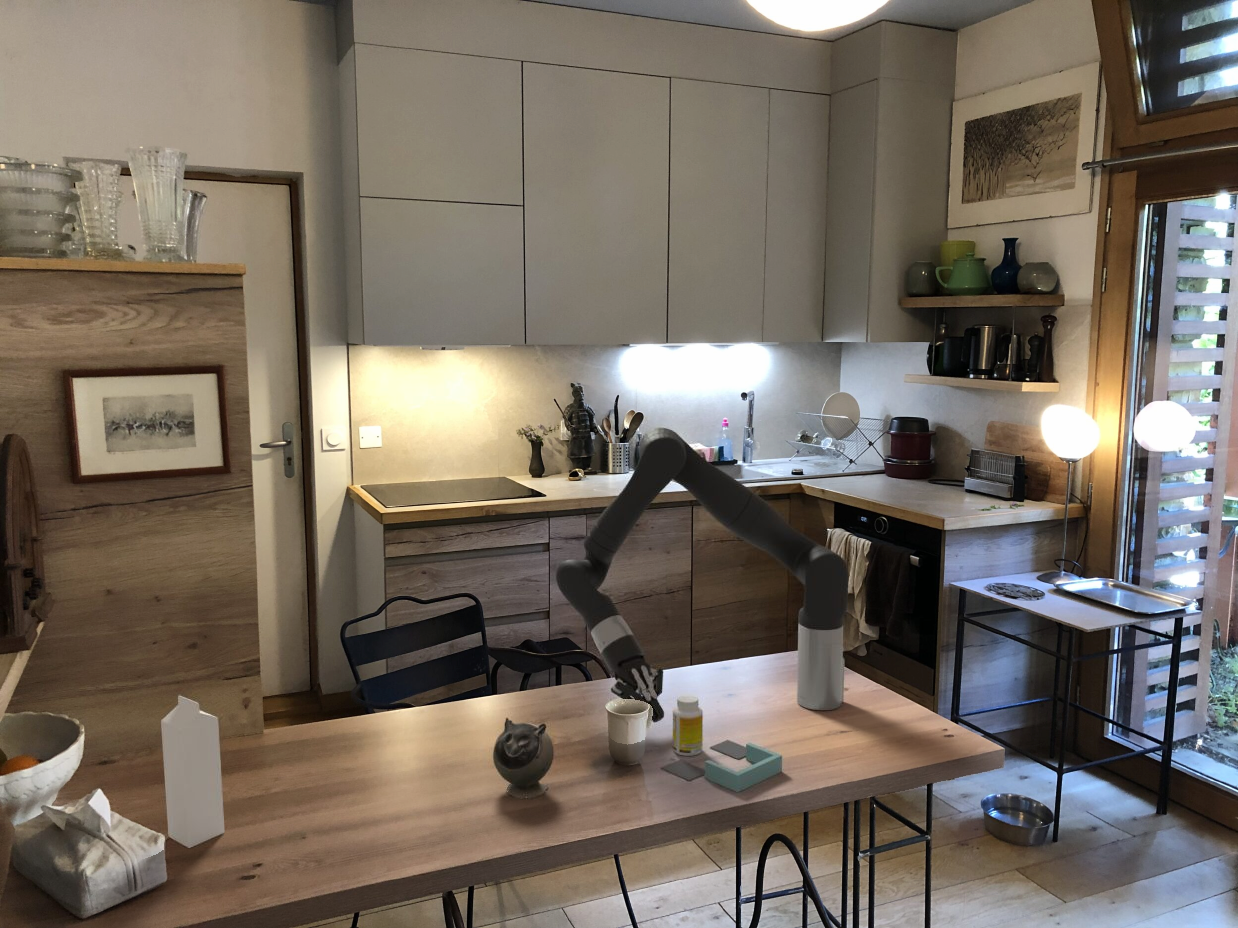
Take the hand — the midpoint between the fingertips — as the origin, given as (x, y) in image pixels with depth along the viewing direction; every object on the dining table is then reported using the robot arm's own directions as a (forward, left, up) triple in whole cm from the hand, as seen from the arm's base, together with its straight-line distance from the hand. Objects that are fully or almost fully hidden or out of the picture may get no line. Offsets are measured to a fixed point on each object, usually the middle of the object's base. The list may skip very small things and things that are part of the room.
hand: (659, 719), depth 186 cm
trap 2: (-7, +13, -4) cm, 15 cm away
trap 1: (+6, +13, -4) cm, 15 cm away
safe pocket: (0, +21, -4) cm, 21 cm away
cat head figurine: (+32, -1, -4) cm, 32 cm away
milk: (+79, -23, -4) cm, 82 cm away
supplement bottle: (0, +7, -4) cm, 9 cm away
